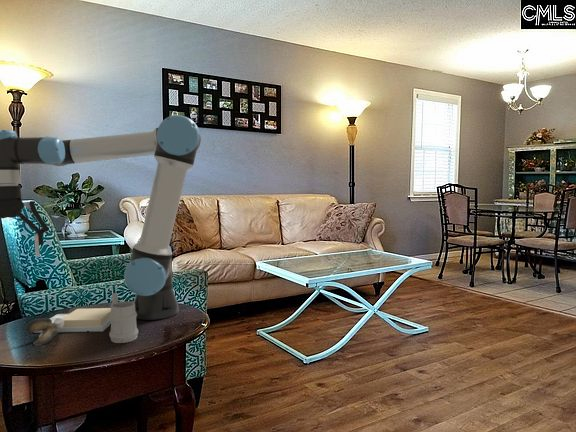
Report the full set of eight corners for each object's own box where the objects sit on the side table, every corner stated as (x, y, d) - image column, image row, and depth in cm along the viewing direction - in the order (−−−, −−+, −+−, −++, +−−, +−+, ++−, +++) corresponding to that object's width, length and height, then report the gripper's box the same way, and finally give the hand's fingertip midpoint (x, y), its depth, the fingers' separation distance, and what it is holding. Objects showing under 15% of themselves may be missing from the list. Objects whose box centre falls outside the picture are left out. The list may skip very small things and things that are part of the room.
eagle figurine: (36, 330, 128) (17, 335, 119) (50, 309, 129) (33, 312, 120) (57, 344, 128) (40, 350, 119) (71, 323, 128) (55, 328, 119)
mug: (116, 345, 118) (114, 302, 117) (99, 335, 127) (98, 294, 126) (143, 338, 124) (141, 297, 123) (125, 328, 132) (124, 289, 131)
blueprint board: (119, 316, 144) (118, 307, 144) (103, 331, 130) (102, 320, 130) (57, 317, 143) (56, 308, 143) (34, 332, 129) (33, 321, 129)
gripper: (52, 184, 135) (56, 252, 137) (-50, 186, 120) (-43, 262, 122) (56, 184, 129) (60, 255, 131) (-51, 186, 114) (-44, 266, 116)
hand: (10, 259), depth 126 cm, fingers open, 13 cm apart
